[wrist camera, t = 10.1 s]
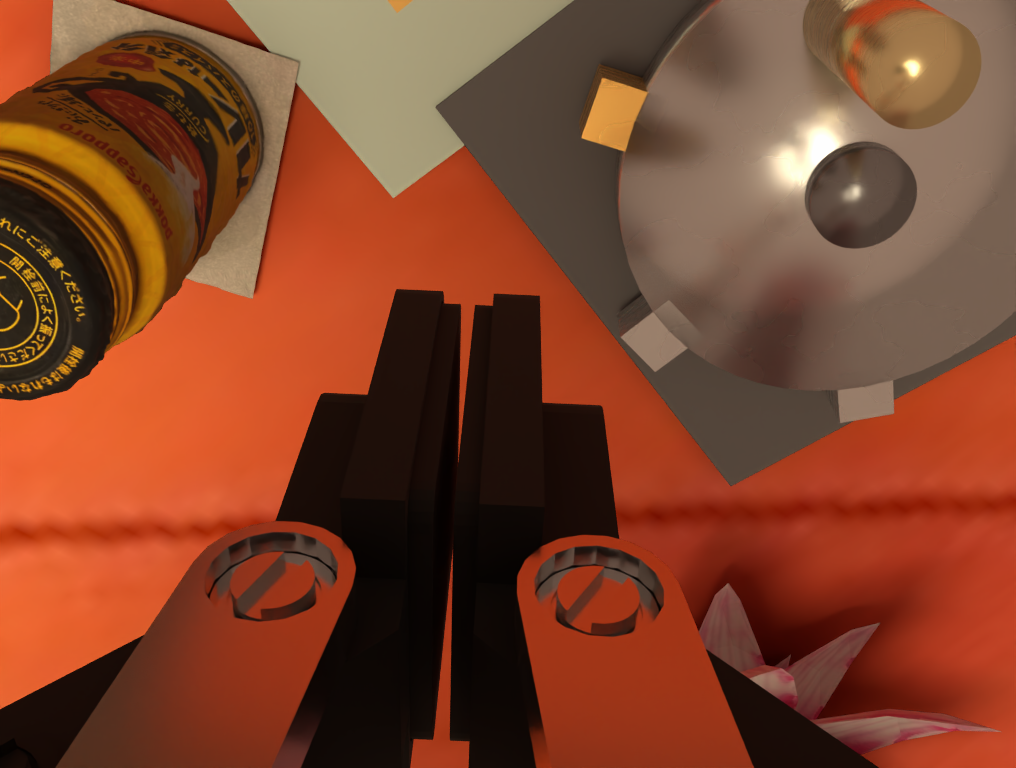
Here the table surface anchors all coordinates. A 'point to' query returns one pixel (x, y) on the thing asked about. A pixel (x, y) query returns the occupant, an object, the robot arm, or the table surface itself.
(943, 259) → the sprocket
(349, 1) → the mat
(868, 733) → the decorative flower
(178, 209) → the condiment
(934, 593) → the table surface
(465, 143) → the sprocket base
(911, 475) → the table surface
